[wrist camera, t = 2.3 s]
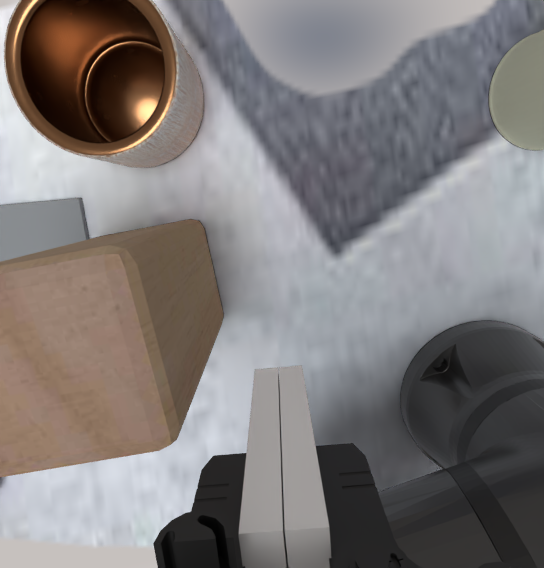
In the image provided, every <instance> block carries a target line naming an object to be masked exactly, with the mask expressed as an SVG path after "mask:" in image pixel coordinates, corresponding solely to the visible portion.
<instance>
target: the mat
mask: <svg viewBox="0 0 544 568" xmlns="http://www.w3.org/2000/svg"><path fill="white" fill-rule="evenodd" d="M88 239H89V235H88V230H87V224H86V219H85V214H84V209H83V203H82V198H75V199H64V200H53V201H43V202H32V203H21V204H11V205H0V262H1V261H5V260H9V259H13V258H17V257H21V256H25V255H29V254H33V253H37V252H41V251H45V250H49V249H53V248H57V247H61V246H65V245H69V244H73V243H77V242H80V241H84V240H88Z"/></svg>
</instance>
